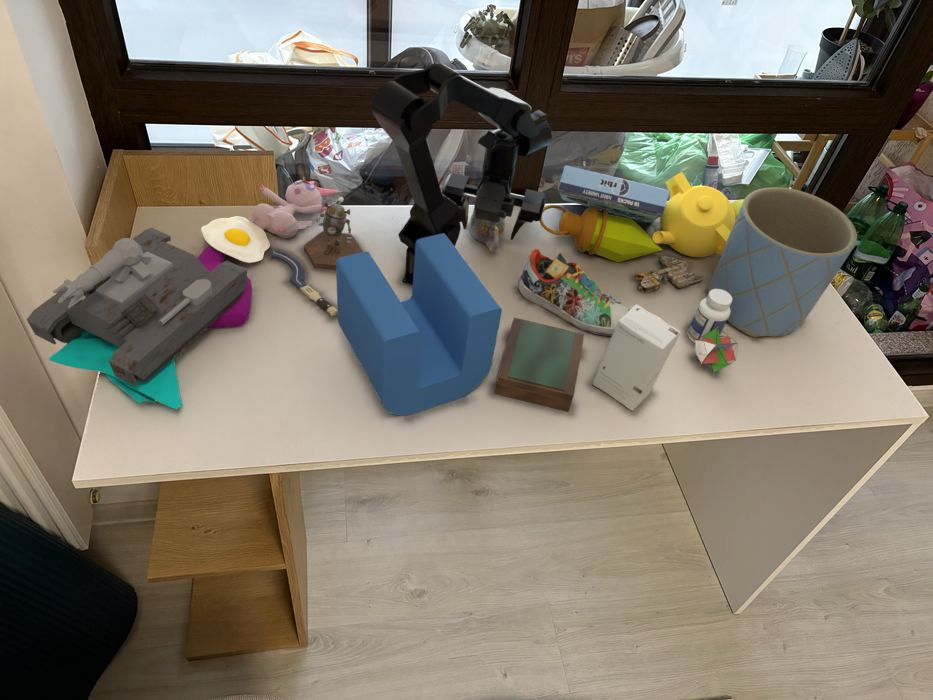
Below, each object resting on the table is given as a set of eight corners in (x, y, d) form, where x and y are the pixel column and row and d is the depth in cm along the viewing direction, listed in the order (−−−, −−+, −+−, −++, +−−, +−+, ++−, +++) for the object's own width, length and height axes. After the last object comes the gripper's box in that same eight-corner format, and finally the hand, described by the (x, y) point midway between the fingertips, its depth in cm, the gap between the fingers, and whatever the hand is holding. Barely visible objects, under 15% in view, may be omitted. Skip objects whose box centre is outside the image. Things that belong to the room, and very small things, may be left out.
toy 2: (228, 200, 133) (295, 150, 146) (234, 230, 138) (299, 179, 151) (294, 228, 129) (357, 174, 142) (298, 257, 134) (359, 202, 147)
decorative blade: (278, 247, 136) (255, 256, 133) (278, 243, 135) (255, 252, 132) (353, 306, 127) (331, 318, 124) (354, 302, 127) (331, 314, 123)
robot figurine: (297, 265, 132) (293, 210, 123) (306, 233, 138) (303, 179, 130) (359, 271, 133) (359, 217, 124) (365, 239, 139) (366, 185, 131)
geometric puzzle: (756, 346, 122) (727, 374, 119) (732, 358, 128) (704, 385, 125) (727, 313, 122) (698, 340, 119) (704, 327, 129) (676, 353, 126)
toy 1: (158, 250, 127) (136, 176, 116) (252, 292, 122) (238, 218, 111) (37, 341, 111) (-2, 266, 100) (139, 394, 106) (109, 320, 95)
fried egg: (250, 269, 127) (251, 264, 127) (190, 234, 127) (191, 229, 127) (285, 241, 137) (286, 236, 136) (229, 208, 137) (230, 204, 136)
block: (381, 424, 110) (384, 340, 97) (338, 343, 120) (335, 258, 107) (486, 389, 117) (502, 307, 104) (437, 315, 127) (446, 232, 114)
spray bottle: (181, 332, 118) (192, 238, 135) (252, 328, 120) (253, 236, 137) (178, 318, 116) (189, 225, 133) (250, 314, 118) (252, 223, 135)
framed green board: (494, 393, 116) (497, 376, 113) (510, 333, 126) (513, 316, 123) (568, 411, 116) (574, 394, 112) (579, 350, 125) (584, 332, 122)
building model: (673, 254, 147) (675, 247, 146) (710, 278, 142) (713, 271, 141) (621, 281, 140) (623, 273, 139) (659, 307, 135) (661, 299, 133)
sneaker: (619, 349, 126) (634, 307, 119) (509, 299, 132) (517, 256, 125) (634, 323, 131) (649, 282, 124) (528, 277, 137) (536, 235, 130)
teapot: (619, 220, 151) (625, 193, 140) (693, 173, 152) (704, 144, 141) (679, 295, 145) (690, 274, 134) (755, 246, 146) (772, 221, 136)
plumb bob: (654, 245, 148) (535, 212, 146) (673, 217, 141) (548, 182, 139) (651, 281, 144) (529, 248, 142) (671, 254, 136) (542, 218, 134)
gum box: (562, 200, 156) (556, 191, 133) (568, 176, 155) (563, 163, 133) (652, 223, 153) (662, 218, 131) (659, 199, 152) (670, 189, 130)
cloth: (93, 300, 119) (96, 311, 121) (24, 350, 109) (28, 361, 111) (229, 357, 113) (230, 368, 115) (168, 416, 104) (170, 426, 105)
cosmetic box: (591, 385, 120) (613, 319, 109) (610, 365, 123) (634, 300, 113) (634, 413, 117) (662, 349, 106) (653, 393, 120) (682, 328, 109)
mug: (466, 222, 147) (470, 194, 142) (500, 222, 148) (505, 195, 143) (473, 261, 138) (477, 232, 134) (508, 261, 139) (514, 233, 135)
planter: (750, 355, 129) (800, 267, 114) (682, 286, 140) (719, 198, 125) (826, 326, 136) (882, 241, 121) (755, 264, 147) (799, 178, 132)
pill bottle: (717, 331, 132) (738, 291, 125) (714, 351, 128) (735, 311, 121) (688, 322, 133) (706, 282, 126) (684, 342, 129) (703, 301, 122)
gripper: (437, 175, 125) (430, 247, 137) (544, 199, 124) (528, 270, 135) (452, 143, 133) (445, 213, 144) (553, 165, 132) (538, 234, 143)
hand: (488, 233), depth 142 cm, fingers open, 9 cm apart
